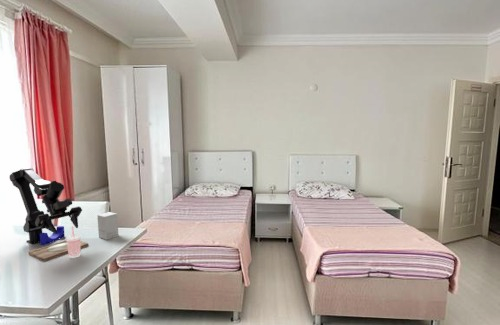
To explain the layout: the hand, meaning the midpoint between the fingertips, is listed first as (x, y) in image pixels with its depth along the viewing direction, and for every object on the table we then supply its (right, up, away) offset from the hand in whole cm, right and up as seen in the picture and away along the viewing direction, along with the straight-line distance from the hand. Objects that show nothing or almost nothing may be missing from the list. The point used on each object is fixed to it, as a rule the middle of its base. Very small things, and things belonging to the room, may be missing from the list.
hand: (67, 230), depth 134 cm
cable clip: (-20, -10, +18) cm, 28 cm away
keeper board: (-7, -11, +5) cm, 14 cm away
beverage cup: (+4, -12, -1) cm, 12 cm away
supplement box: (+8, -9, +23) cm, 26 cm away
